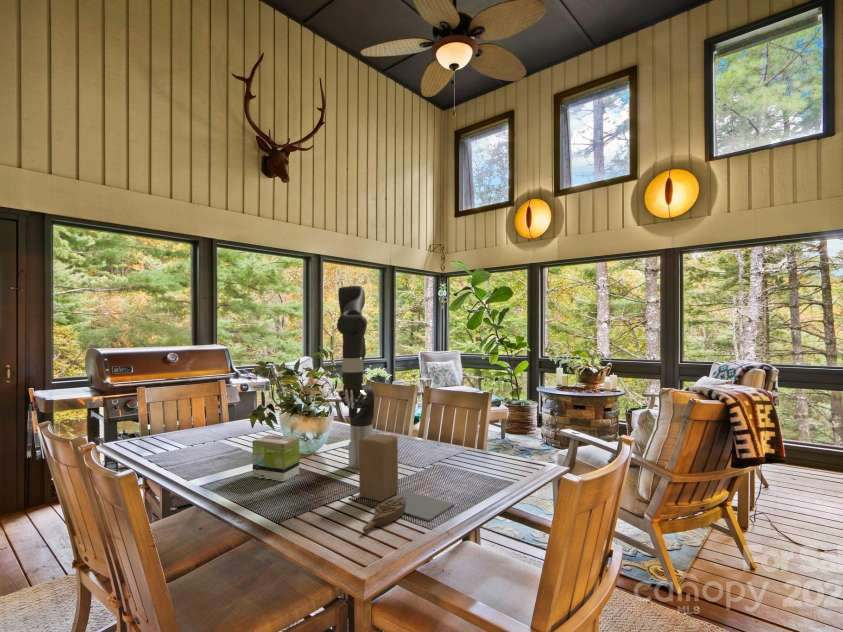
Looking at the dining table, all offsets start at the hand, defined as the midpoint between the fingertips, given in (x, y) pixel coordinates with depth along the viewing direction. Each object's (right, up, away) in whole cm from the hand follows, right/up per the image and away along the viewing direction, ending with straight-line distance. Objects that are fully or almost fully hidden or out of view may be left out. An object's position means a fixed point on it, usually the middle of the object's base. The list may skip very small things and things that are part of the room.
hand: (353, 418), depth 163 cm
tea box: (-32, -26, +13) cm, 43 cm away
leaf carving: (+14, -24, -26) cm, 38 cm away
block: (+10, -25, -7) cm, 28 cm away
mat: (+23, -25, -17) cm, 38 cm away
